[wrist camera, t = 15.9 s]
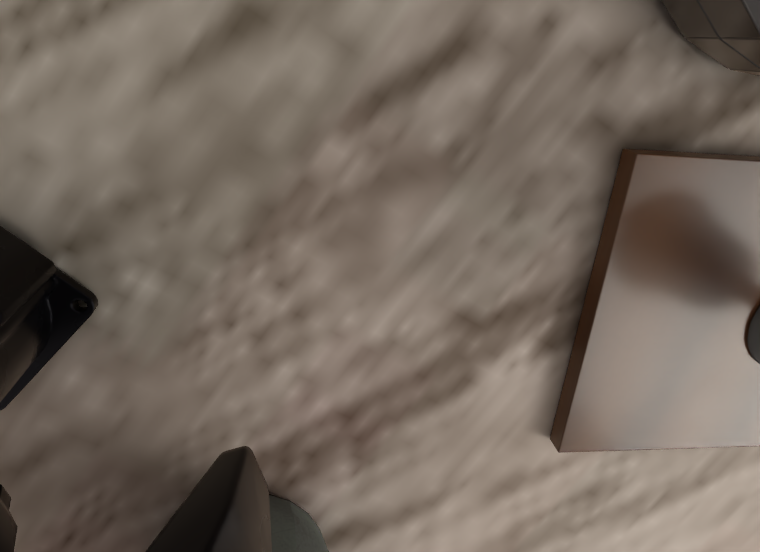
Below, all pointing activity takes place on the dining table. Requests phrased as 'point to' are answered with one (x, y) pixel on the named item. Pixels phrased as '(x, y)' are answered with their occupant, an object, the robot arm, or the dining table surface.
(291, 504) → the bottle
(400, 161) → the dining table surface
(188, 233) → the dining table surface
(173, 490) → the dining table surface
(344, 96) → the dining table surface
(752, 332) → the sundae
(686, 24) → the skillet
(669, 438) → the walnut board
